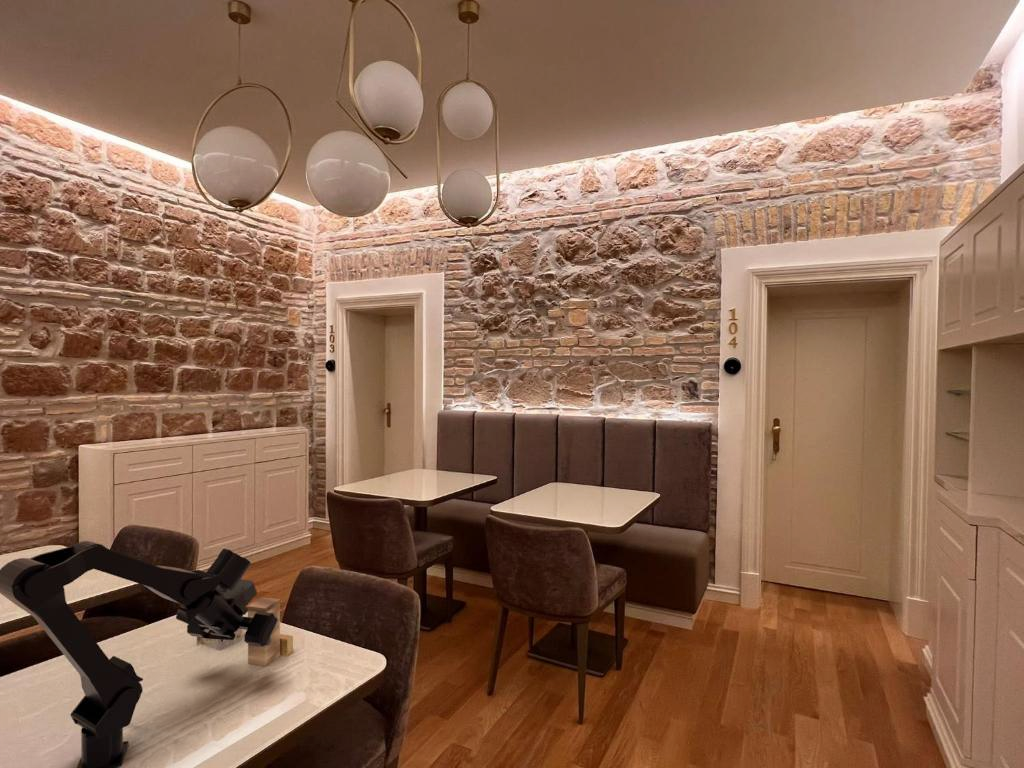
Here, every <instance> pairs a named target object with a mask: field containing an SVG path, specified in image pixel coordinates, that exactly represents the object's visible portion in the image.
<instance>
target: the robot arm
mask: <svg viewBox="0 0 1024 768" xmlns="http://www.w3.org/2000/svg"><path fill="white" fill-rule="evenodd" d="M251 566H252V562H251V561H250V560H249V559H247V558H246V557H243V556H241V555H239V554H237V553H235V552H233V551H232V550H231V549H228V548H222V550H221V551H220V552H219V554H218V555H217V558H216V559H215V560H214V561H213V563H211V565H210V567H209V568H208V569H207V570H206V571H204V570H201V569H193V570H187V569H183V568H180V567H179V568H178V567H173V566H164V565H155V564H152V563H149V562H146V561H144V560H140V559H138V558H135V557H133V556H129V555H126V554H124V553H121V552H119V551H115V550H113V549H110V548H108V547H105V546H104V544H101V543H97V542H94V541H91V540H90V541H89V540H83V541H80V542H77V543H74V544H71V545H69V546H67V547H64V548H59V549H56V550H51V551H48V552H44V553H39V554H37V555H35V556H33V557H29V558H27V557H21V558H16V559H14V560H11V561H8V562H7V563H6V564H4V565H3V566H2V567H1V568H0V595H2V596H4V598H7V600H8V601H10V602H12V603H13V604H14V605H15V606H17V607H19V608H20V609H22V610H23V611H25V612H26V613H27V614H29V615H30V616H31V617H33V619H34V620H35V621H36V622H37V623H38V625H39V626H40V627H41V628H42V630H43V631H45V633H46V634H47V636H48V637H49V638H50V640H51V641H52V642H53V643H54V645H56V647H57V648H58V649H59V650H60V652H61V653H62V655H63V656H64V657H65V659H67V660H68V662H69V663H70V664H71V665H72V667H73V668H74V669H75V671H76V672H77V673H78V675H79V676H80V681H81V688H82V690H83V693H84V696H83V697H82V699H81V700H80V701H79V702H78V704H77V705H76V706H75V708H74V709H73V710H72V711H71V713H70V715H69V716H70V717H71V719H72V721H73V723H74V724H75V725H78V726H79V727H81V729H80V735H81V736H80V741H81V742H80V743H81V746H80V747H81V751H80V752H81V758H80V760H79V762H78V764H77V767H76V768H117V767H121V766H123V765H122V764H123V763H124V760H125V756H126V753H127V750H128V747H129V741H128V740H126V741H124V735H123V733H124V728H126V727H127V726H129V725H130V724H131V722H132V719H133V715H134V713H135V710H136V706H137V704H138V703H139V701H140V699H141V695H142V693H143V691H144V690H143V686H142V683H141V682H142V681H143V680H144V678H143V677H141V676H139V675H138V674H137V673H136V671H135V669H134V667H133V665H132V663H130V662H128V661H125V660H123V659H121V658H120V657H118V656H116V655H112V656H111V657H110V658H109V657H108V656H107V655H106V654H105V652H104V651H103V650H102V648H101V646H99V644H98V643H97V641H96V640H95V639H94V638H93V636H92V634H90V632H89V631H88V629H87V628H86V626H85V625H84V624H83V623H82V621H81V620H80V618H78V617H77V616H76V613H75V612H74V611H73V609H72V608H70V605H68V602H67V600H66V591H65V588H64V587H66V586H67V585H70V584H71V583H73V582H74V581H76V580H77V579H79V578H80V577H82V576H83V575H84V574H86V573H87V572H89V571H91V570H96V571H99V572H102V573H105V574H108V575H111V576H115V577H117V578H119V579H124V580H127V581H131V582H133V583H136V584H140V585H142V586H143V587H145V588H147V589H148V590H150V591H151V592H152V593H154V594H155V595H158V596H159V597H161V598H163V599H165V600H169V601H171V602H174V603H177V604H179V605H181V606H179V607H178V610H177V613H176V615H175V616H176V617H175V619H176V620H178V621H180V622H182V623H185V624H187V626H186V633H187V634H188V635H190V636H191V637H196V638H197V637H199V638H206V639H221V640H234V638H235V636H236V635H235V633H234V632H236V631H237V630H238V629H242V630H246V631H245V633H244V642H245V643H246V644H247V645H248V644H249V645H252V646H258V647H263V646H266V645H269V644H270V642H271V637H270V636H271V633H272V631H273V629H274V627H275V625H276V623H277V621H278V618H277V616H275V615H274V614H273V613H268V612H261V611H259V612H257V613H256V614H255V615H254V617H253V618H251V617H248V616H244V615H246V614H248V608H247V606H248V605H249V603H250V602H251V601H252V600H253V599H254V598H255V597H256V596H257V595H258V591H257V588H256V585H255V583H254V581H253V580H250V579H243V577H244V575H245V574H246V573H247V571H248V570H249V568H250V567H251ZM216 588H217V589H219V591H216V590H215V589H216ZM249 622H250V623H249Z"/></svg>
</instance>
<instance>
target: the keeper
mask: <svg viewBox="0 0 1024 768" xmlns="http://www.w3.org/2000/svg"><path fill="white" fill-rule="evenodd" d="M246 607H247V608H248V611H247V617H251V618H253V617H254V615H255V614H256V613H257V612H259V611H261V612H268V613H273V614H274V615H275V616H277V618H278V621H277V623H276V625H275V627H274V629H273V631H272V633H271V636H270V637H271V642H270V644H269V645H266V646H263V647H258V646H252V645H249V644H248V643H247V664H248V665H254V666H261V667H266V666H268V665H269V664H271V663H272V662H274V661H275V660H276V659H278V658H279V657H280V656H281V655H280V634H281V599H280V598H272V597H265V596H264V597H261V598H259V599H257V600H255V601H254V602H252V603H250V604H248V605H246ZM249 623H250V622H249Z"/></svg>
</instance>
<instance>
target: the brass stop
mask: <svg viewBox="0 0 1024 768" xmlns="http://www.w3.org/2000/svg"><path fill="white" fill-rule="evenodd" d="M292 653H294V636H293V635H292V634H291V635H290V634H289V635H288V634H284V633H280V656H283V657H289V656H290V655H291V654H292Z"/></svg>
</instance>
